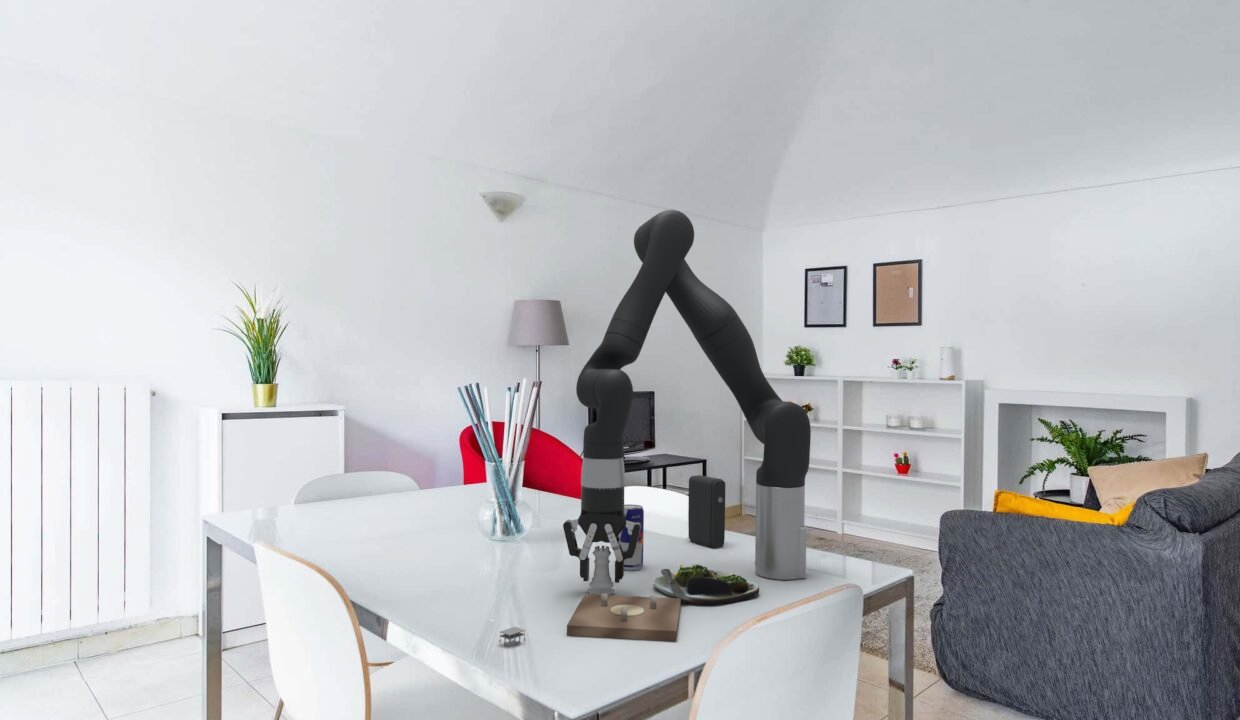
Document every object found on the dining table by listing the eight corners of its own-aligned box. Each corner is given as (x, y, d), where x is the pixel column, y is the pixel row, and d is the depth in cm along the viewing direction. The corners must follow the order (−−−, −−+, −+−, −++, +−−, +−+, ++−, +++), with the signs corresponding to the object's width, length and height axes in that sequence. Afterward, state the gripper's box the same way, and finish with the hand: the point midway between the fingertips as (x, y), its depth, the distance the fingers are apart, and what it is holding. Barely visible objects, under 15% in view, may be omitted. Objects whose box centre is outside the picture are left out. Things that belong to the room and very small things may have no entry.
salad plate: (626, 584, 142) (626, 559, 142) (703, 572, 152) (704, 548, 152) (690, 614, 126) (691, 585, 126) (772, 597, 135) (773, 571, 135)
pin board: (680, 607, 128) (680, 587, 128) (676, 641, 112) (676, 618, 112) (584, 602, 130) (584, 582, 130) (566, 635, 114) (567, 612, 114)
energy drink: (640, 572, 150) (641, 509, 150) (613, 570, 151) (614, 508, 151) (645, 565, 155) (645, 504, 155) (618, 563, 156) (619, 503, 156)
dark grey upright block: (727, 547, 171) (728, 479, 171) (713, 549, 169) (714, 480, 169) (700, 539, 179) (701, 474, 179) (686, 541, 176) (687, 475, 177)
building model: (499, 646, 110) (499, 631, 110) (515, 640, 112) (515, 626, 112) (509, 649, 108) (509, 635, 108) (525, 644, 110) (525, 629, 110)
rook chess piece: (595, 598, 132) (596, 551, 132) (584, 591, 136) (585, 545, 136) (618, 595, 134) (619, 548, 134) (607, 588, 138) (607, 543, 138)
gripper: (645, 481, 138) (644, 577, 138) (566, 478, 140) (565, 573, 140) (641, 487, 131) (640, 589, 131) (558, 485, 133) (556, 585, 132)
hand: (601, 580), depth 135 cm, fingers open, 5 cm apart
